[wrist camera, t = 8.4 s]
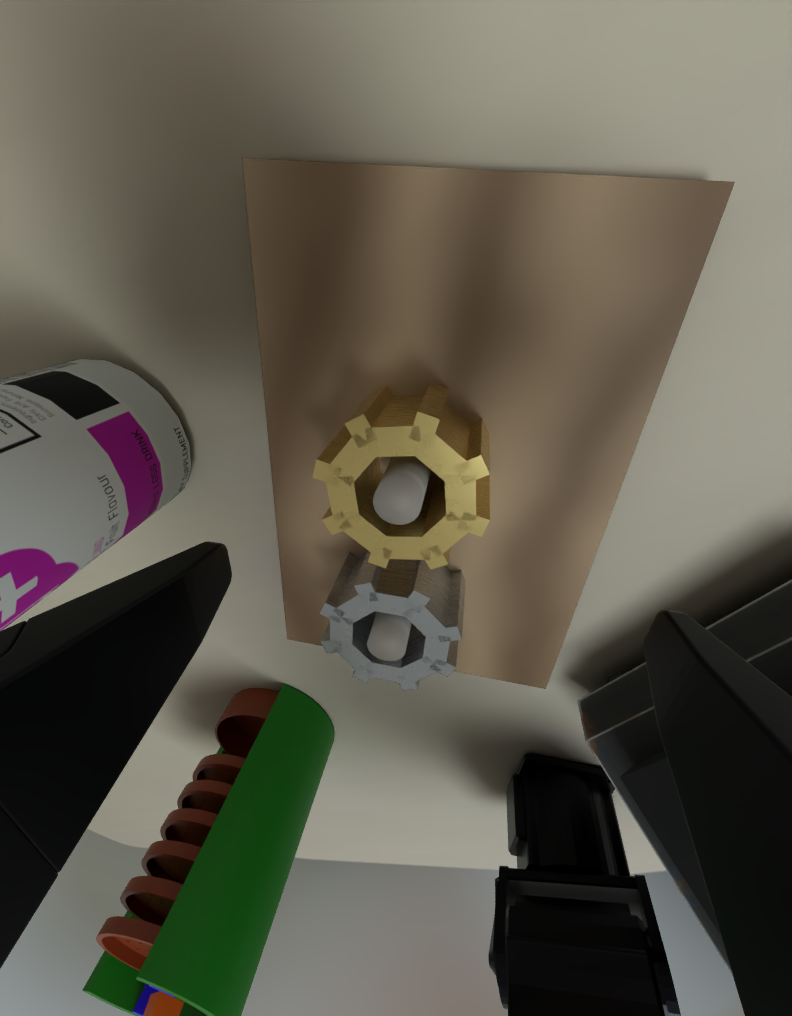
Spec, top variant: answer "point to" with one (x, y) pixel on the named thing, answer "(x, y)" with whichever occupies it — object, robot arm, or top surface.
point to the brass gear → (435, 442)
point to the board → (470, 365)
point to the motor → (218, 865)
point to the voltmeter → (641, 754)
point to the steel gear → (402, 592)
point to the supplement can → (78, 471)
